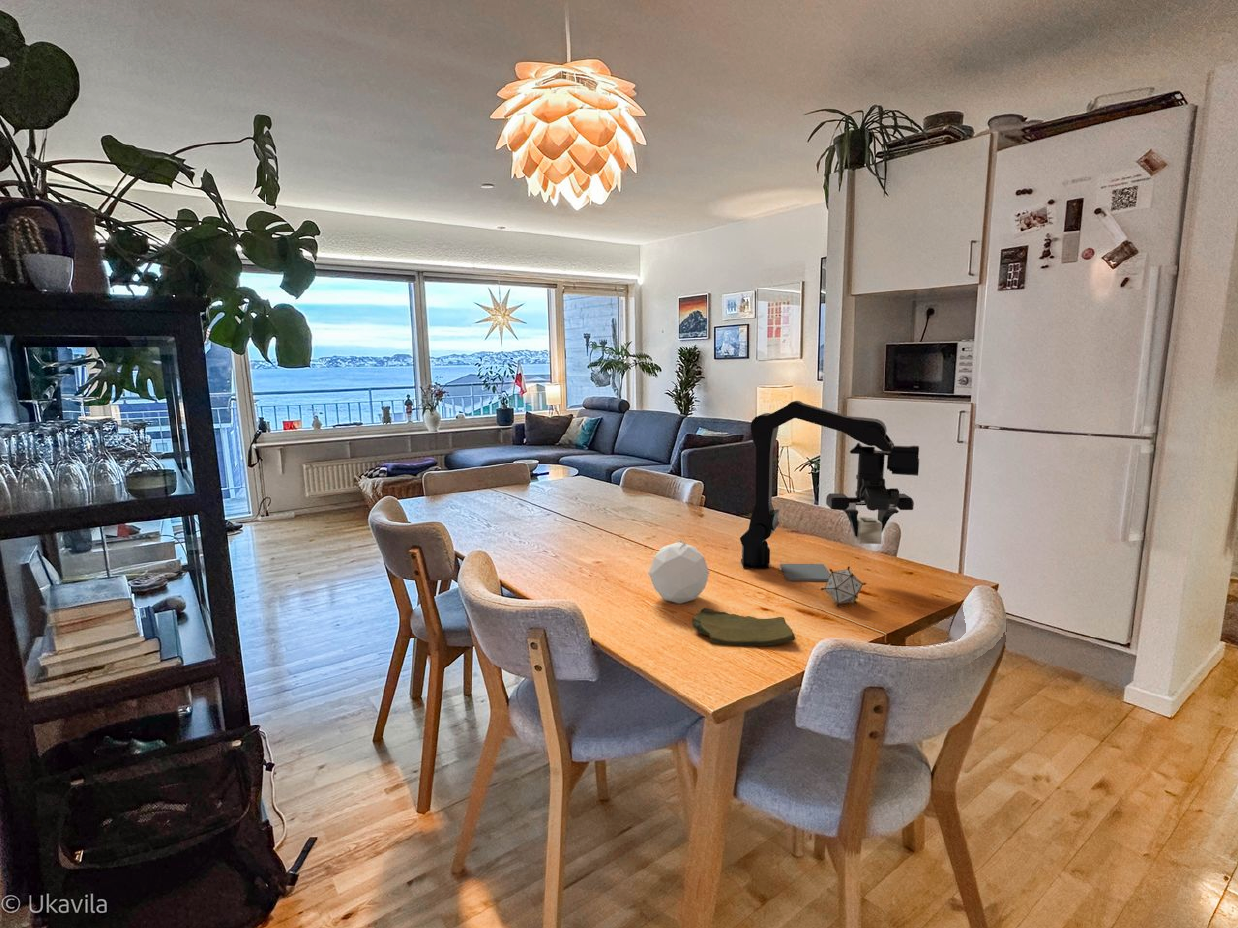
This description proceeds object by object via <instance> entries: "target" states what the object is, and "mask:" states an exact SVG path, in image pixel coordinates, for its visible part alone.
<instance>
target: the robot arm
mask: <svg viewBox="0 0 1238 928" xmlns="http://www.w3.org/2000/svg"><path fill="white" fill-rule="evenodd" d="M793 419H798V420H801V421H805V422H808V423H811V424H814V425H817V426H821V427H825V428H827V429H831V430H835V431H838V432H840V433H843V434H845V435H847V436H848V437H850V438H852V439H854V440H855V441H858V442H857V443H856V445H855V446H854V447H853V448H851V449H850V451H849V453H850V454H853V455H854V454H855V455H858V460H857V462H858V463H857V474H856V476H855V477H856V478H855V479H856V481H857V482H856V491H855V496H854V497H852V496H851V497H850V496H849V497H848V496H847V495H846V494H844V493H842V492H841V493H833V492H832V493H828V494H827V496H826V499H825V505H827V507H829V508H830V510H835V511H842V512H844V513H845V514H846V516H847V518H848V521H849V524H850V527H851V530H852V532H853V533H852V534H853V535H854V536H855V537H857V534H858V524H857V518H858V514H859V510H857V506H866V508H867V510H868V511H873V512H874V511H877V519H878V520H879V521H880V522H881V523H882V533H883V532H884V530H885V527H886V525H887V523H888V521H889V520H890V518H891V517H892V516H893V515H894V514H898V513H899V512H900V511H913V510H914V503H915V502H914V499H913V498H912V497H911V496H909V495H908V494H906V493H900V491H899V488H897V487H896V488H887V487H886V480H885V478H884V475H885V459H886V456H887V460H886V470H889V472H891V474H892V475H901V476H919V470H920V469H919V468H920V458H919V455H920V454H919V452H920V446H919V445H910V446H909V445H895V444H894V441H893V440H891V438H890V436H889V435H888V434H887V431H888V430H887V426H886V425H885V423H884V422H883V421H882V420H881V419H878V418H871V417H870V418H869V417H863V416H862V417H861V416H849V415H846V414H841V413H839V412H835V411H831V410H827V409H824V408H821V407H818V406H814V405H810V404H807V403H804V402H802V401H800V400H795V401H792V402H791V401H790V402H789V403H788V404H786V405H785V406H784V407H781V408H779V409H778V410H775V411H774V412H767V413H765V412H764V413H762V414H760V415H758V416H755V417H754V418H753V419H752V420H751V422H750V426H749V427H750V433H751V439H752V444H753V447H754V449H755V472H754V473H755V476H754V477H755V481H754V483H755V484H754V489H755V490H754V506H753V510H752V513H751V516H750V520H749V525H748V529H747V530H746V531H745V532H744V533H743V535H741V536H740V537H739V540H740V543H741V558H740V562H741V565H742V568H743V569H760V570H761V569H763V570H764V569H765V570H766V569H769V568H770V567H769V565H770V563H771V562H770V561H771V559H770V558H771V549H770V547H769V545H768V541H767V540H768V539H769V538H770V537H771V536H772V535H773V533H774V532H775V531H776V529H777V527H778V526H779V525H780V522H779V513H780V509H774V506H773V460H774V459H773V458H774V457H773V456H774V455H773V454H774V453H773V452H774V448H775V444H776V441H777V437H778V433H779V428H780V426H782V425H784V424H786V423H788V422H789V421H792V420H793ZM861 443H862V444H864V445H865V446H863V445H862V444H861ZM876 448H877V449H878V450H876ZM898 509H899V510H900V511H899V510H898Z"/></svg>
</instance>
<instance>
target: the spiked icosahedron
mask: <svg viewBox="0 0 1238 928" xmlns="http://www.w3.org/2000/svg"><path fill="white" fill-rule="evenodd" d="M850 568H851V567H850V565H848V566H847V568H846V569H843V570H835V571H833V569H831V568H829V573H830V574H831V575H830V577H829V579H828V581H826V584H825V585H824V587H821V588H820V590H821V591H825V592H826V593H827V594H828V595H829V596H830V597H831V598H832V600H834V601H835V602H836V608H839V607H840V604H847V603H852V602H853V603H854V604H855V605H858V601H856V599H859V597H858V595H859V594H860V591H861V589H862V587H863V586H866V585H867V583H866V582H861V580H860V579H859V578H858V577H857V576H856V575H855V574H854V573H853V572H852V571H851V570H850Z"/></svg>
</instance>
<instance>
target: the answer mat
mask: <svg viewBox="0 0 1238 928" xmlns="http://www.w3.org/2000/svg"><path fill="white" fill-rule="evenodd" d="M779 567H780V568H781V571H782V572H783V575H784V576H785V578H786V579H785V580H786V581H788V582H827V581H828V579H829V577H830V575H831V572H830V570H828V568H827V567H826V566H825V564H823V563H780V564H779Z"/></svg>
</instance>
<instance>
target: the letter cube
mask: <svg viewBox="0 0 1238 928" xmlns="http://www.w3.org/2000/svg"><path fill="white" fill-rule="evenodd" d="M857 524H858V534H857V537H855V536H854V534H853V537H852V538H853V539H854V541H856V542H857V543H858V544H859V545H862V544H863V545H864V544H866V545H871V544H873V545H874V544H875V545H882V537H883V536H882V534H883V532H882V523H881V522H880V521H879V520H878V518H877V517H857Z"/></svg>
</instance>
